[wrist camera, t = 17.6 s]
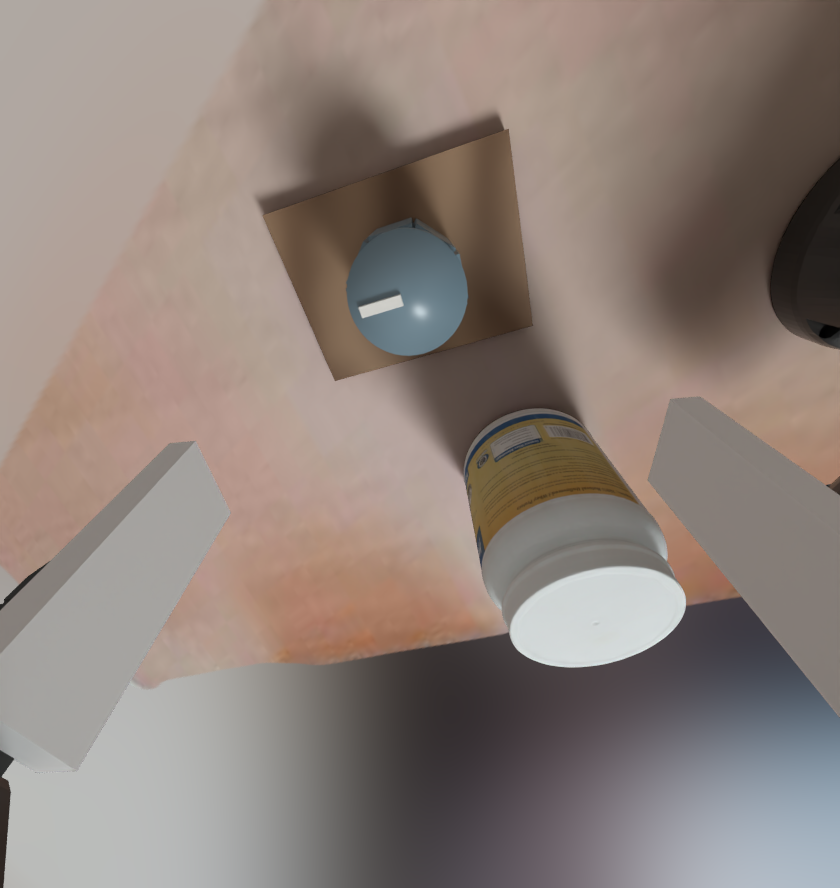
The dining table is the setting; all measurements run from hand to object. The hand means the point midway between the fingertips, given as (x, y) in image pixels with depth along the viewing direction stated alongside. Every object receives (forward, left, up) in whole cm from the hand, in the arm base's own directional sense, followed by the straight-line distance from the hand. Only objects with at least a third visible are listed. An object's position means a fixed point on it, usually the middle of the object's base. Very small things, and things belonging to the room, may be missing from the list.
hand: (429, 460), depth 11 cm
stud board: (0, -2, -21) cm, 21 cm away
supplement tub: (-6, +17, -21) cm, 28 cm away
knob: (0, -2, -20) cm, 20 cm away
